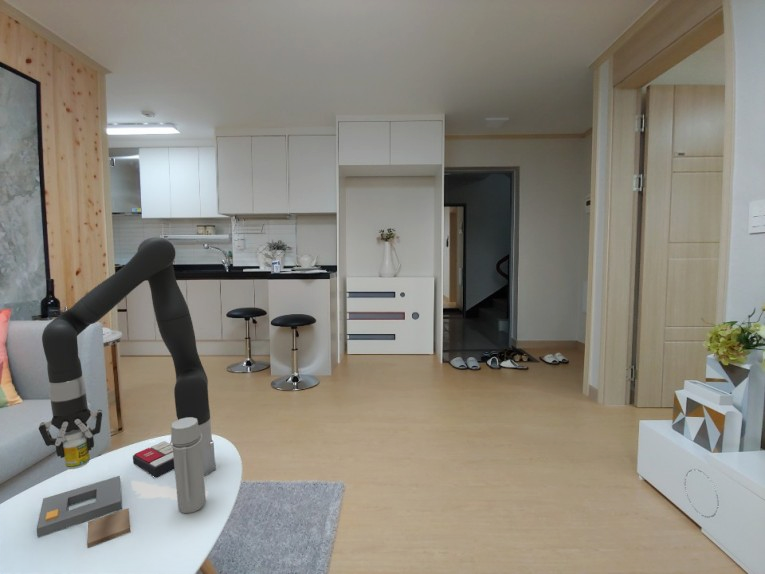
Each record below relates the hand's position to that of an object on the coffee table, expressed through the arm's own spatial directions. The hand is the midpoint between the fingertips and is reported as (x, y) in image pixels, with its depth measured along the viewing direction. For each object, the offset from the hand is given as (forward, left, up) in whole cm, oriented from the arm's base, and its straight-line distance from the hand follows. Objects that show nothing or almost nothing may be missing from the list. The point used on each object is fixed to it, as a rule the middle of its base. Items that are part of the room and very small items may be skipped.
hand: (76, 452), depth 109 cm
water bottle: (-25, +18, -17) cm, 35 cm away
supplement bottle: (0, 0, -4) cm, 4 cm away
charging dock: (0, 0, -17) cm, 17 cm away
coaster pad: (-6, +14, -17) cm, 23 cm away
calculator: (-20, -13, -17) cm, 30 cm away
